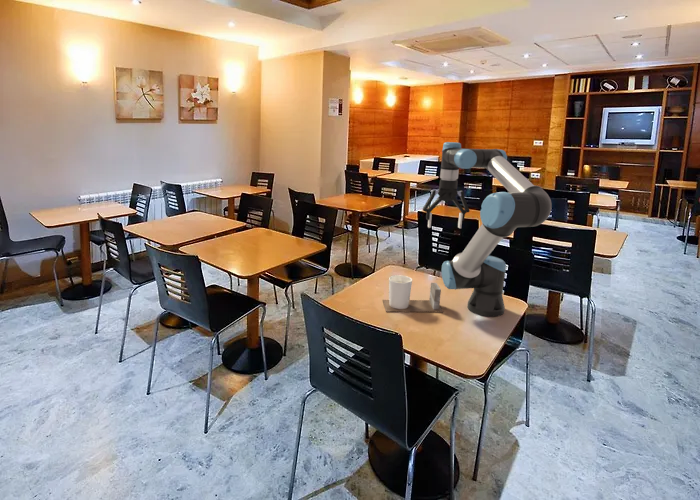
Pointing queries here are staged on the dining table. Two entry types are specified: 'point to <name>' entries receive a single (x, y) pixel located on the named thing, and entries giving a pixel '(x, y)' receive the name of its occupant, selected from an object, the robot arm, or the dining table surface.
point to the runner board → (421, 303)
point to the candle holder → (399, 291)
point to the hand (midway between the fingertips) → (444, 227)
